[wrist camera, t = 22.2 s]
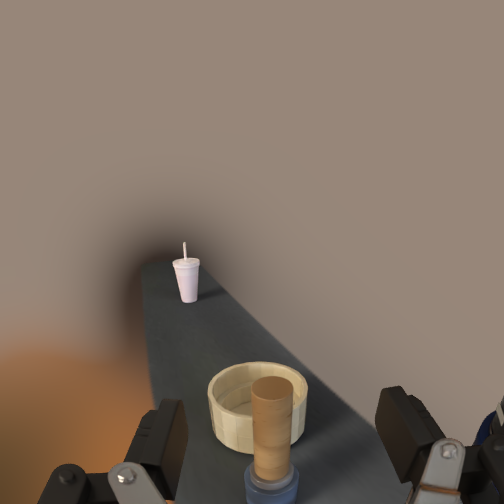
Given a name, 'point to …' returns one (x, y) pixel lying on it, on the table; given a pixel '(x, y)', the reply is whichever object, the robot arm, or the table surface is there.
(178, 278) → the smoothie
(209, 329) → the table surface
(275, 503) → the brush
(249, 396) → the bowl
